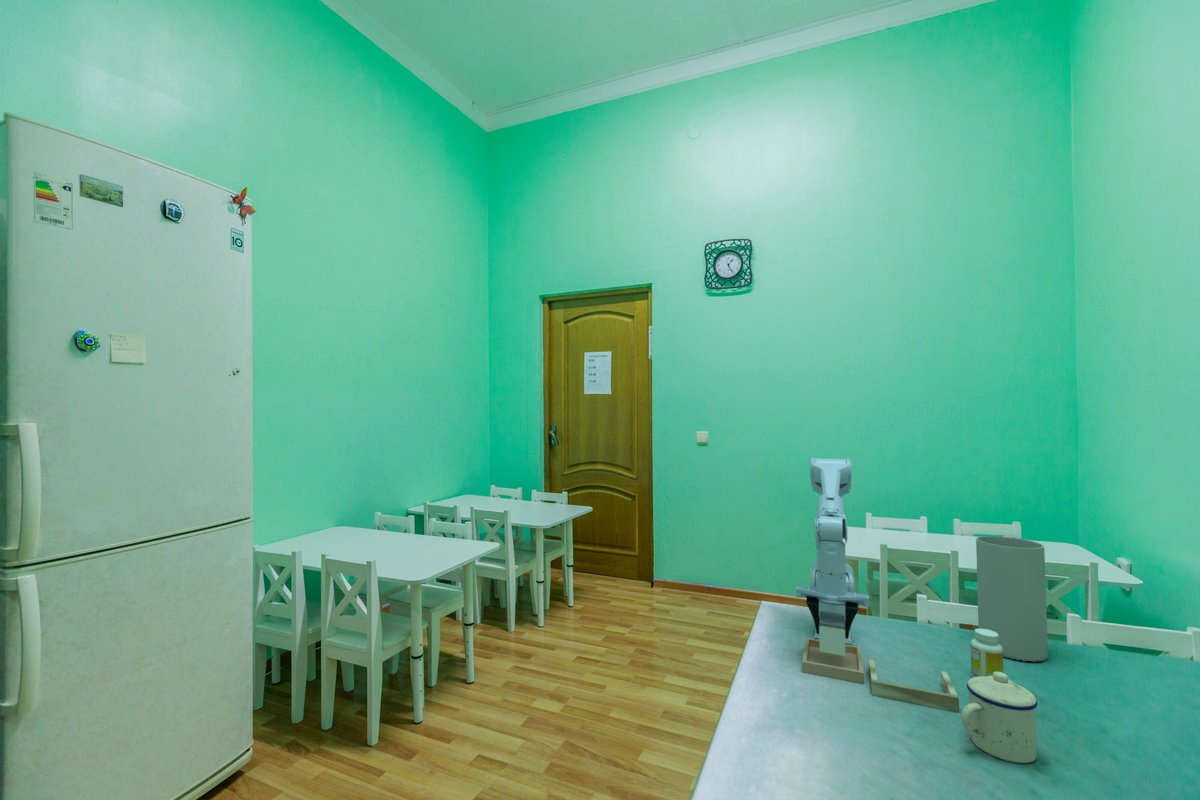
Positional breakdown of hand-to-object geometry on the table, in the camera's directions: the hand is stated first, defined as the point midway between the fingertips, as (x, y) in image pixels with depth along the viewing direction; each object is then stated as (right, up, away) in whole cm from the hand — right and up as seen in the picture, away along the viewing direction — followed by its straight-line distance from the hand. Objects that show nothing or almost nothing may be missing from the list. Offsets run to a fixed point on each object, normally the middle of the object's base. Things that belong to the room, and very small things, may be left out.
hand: (832, 634), depth 113 cm
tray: (0, -6, 0) cm, 6 cm away
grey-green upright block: (0, -3, 0) cm, 3 cm away
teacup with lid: (+13, -5, -29) cm, 33 cm away
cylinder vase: (+45, -7, +7) cm, 46 cm away
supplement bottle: (+29, -6, -7) cm, 30 cm away
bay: (+11, -6, -11) cm, 16 cm away
